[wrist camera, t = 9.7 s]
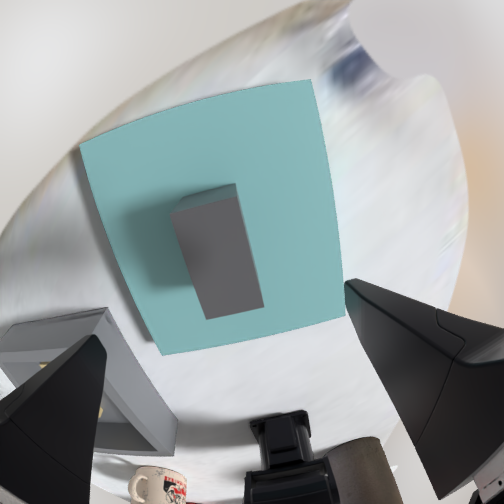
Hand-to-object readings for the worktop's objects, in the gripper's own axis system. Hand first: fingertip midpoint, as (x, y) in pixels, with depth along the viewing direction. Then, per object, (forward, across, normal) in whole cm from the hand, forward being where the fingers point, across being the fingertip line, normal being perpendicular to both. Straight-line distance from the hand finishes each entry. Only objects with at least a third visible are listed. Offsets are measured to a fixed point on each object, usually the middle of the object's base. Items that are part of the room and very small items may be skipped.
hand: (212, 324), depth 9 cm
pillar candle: (+11, -9, +39) cm, 42 cm away
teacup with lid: (+11, +22, +36) cm, 44 cm away
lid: (+11, 0, 0) cm, 11 cm away
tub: (+11, +18, +12) cm, 24 cm away
